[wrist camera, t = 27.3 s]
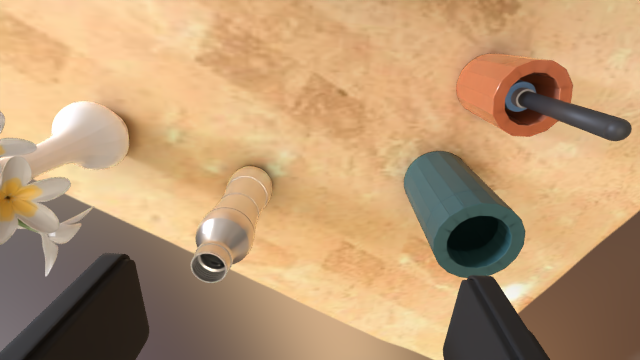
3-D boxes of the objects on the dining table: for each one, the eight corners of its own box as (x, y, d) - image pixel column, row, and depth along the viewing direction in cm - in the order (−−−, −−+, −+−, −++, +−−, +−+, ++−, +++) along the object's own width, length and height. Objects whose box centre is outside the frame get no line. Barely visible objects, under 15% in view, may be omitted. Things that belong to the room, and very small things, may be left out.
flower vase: (158, 195, 52) (21, 323, 29) (38, 134, 49) (-223, 225, 26) (189, 125, 47) (56, 212, 24) (59, 52, 44) (-238, 75, 21)
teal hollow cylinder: (408, 149, 48) (442, 200, 33) (474, 152, 47) (537, 206, 33) (399, 206, 51) (425, 275, 37) (460, 209, 51) (511, 280, 37)
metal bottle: (278, 167, 49) (247, 246, 31) (270, 206, 52) (237, 300, 34) (235, 157, 49) (177, 231, 31) (229, 197, 52) (173, 287, 33)
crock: (462, 51, 42) (503, 57, 32) (524, 54, 42) (585, 62, 32) (450, 111, 45) (483, 134, 35) (508, 114, 45) (558, 138, 35)
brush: (479, 72, 43) (611, 108, 22) (504, 73, 42) (659, 110, 22) (473, 97, 44) (593, 153, 24) (497, 99, 44) (638, 155, 24)
